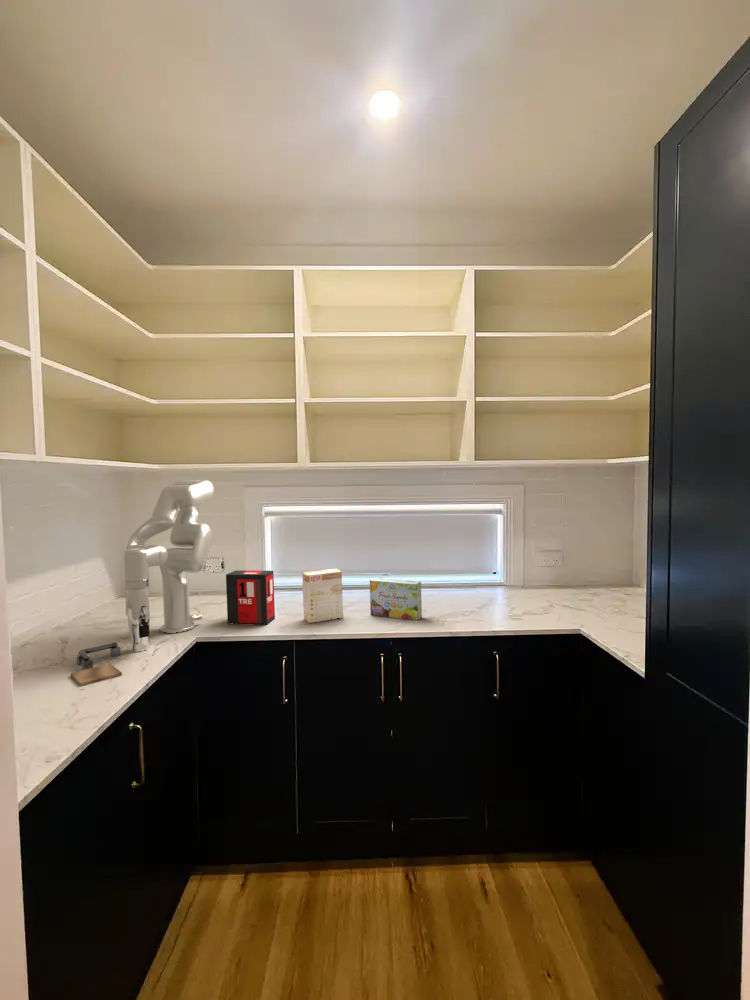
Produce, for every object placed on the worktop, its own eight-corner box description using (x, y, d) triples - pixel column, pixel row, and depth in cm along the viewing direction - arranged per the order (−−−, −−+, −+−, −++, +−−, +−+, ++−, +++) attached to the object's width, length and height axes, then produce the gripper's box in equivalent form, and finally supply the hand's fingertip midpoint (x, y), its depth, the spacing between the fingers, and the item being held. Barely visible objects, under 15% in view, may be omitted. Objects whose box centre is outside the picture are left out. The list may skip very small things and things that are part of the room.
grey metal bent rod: (118, 653, 173) (117, 640, 173) (126, 659, 167) (126, 646, 167) (76, 663, 165) (76, 650, 164) (84, 670, 159) (83, 656, 158)
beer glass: (154, 645, 181) (152, 603, 180) (146, 652, 174) (144, 608, 173) (134, 646, 180) (132, 604, 180) (125, 652, 174) (123, 609, 173)
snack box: (369, 615, 213) (368, 579, 212) (375, 612, 218) (374, 577, 217) (417, 621, 203) (417, 583, 203) (422, 617, 209) (421, 580, 208)
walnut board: (110, 665, 162) (109, 663, 162) (121, 675, 154) (121, 672, 154) (70, 675, 154) (70, 673, 154) (80, 686, 146) (80, 683, 146)
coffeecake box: (337, 614, 216) (336, 568, 215) (343, 618, 210) (342, 570, 209) (303, 619, 210) (301, 571, 209) (308, 623, 203) (307, 574, 202)
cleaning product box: (227, 624, 205) (225, 574, 204) (237, 617, 214) (235, 570, 213) (267, 625, 203) (265, 574, 202) (274, 618, 211) (273, 570, 210)
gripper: (117, 582, 180) (119, 631, 180) (134, 589, 167) (137, 642, 168) (139, 579, 185) (141, 626, 186) (158, 586, 172) (160, 636, 173)
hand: (139, 634), depth 177 cm, fingers open, 8 cm apart
